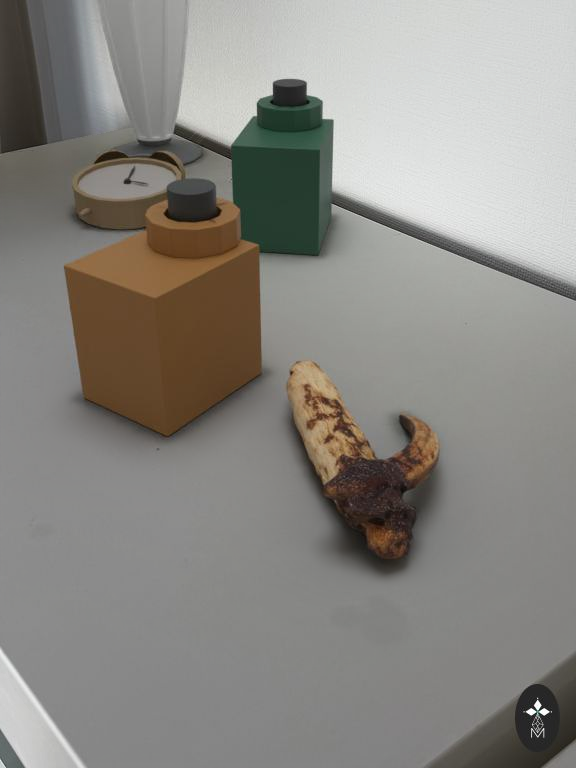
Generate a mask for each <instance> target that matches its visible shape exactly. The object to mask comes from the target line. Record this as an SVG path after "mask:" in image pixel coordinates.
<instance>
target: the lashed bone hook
mask: <svg viewBox="0 0 576 768" xmlns="http://www.w3.org/2000/svg"><path fill="white" fill-rule="evenodd" d="M288 373H289V377H288V379H287V381H286V384H285V388H286V389H285V390H286V394H287V400H288V402H289V405H290V407H291V410H292V412H293V420H294V425H295V426H296V428H297V430H298V432H299V434H300V436H301V438H302V441H303V444H304V447H305V450H306V452H307V455H308V456H307V457H308V459H309V461H310V462H311V463H312V464H313V465H314V468H315V472H316V474H317V475H318V477H319V478H320V480H321V483H322V485H323V492H322V493H323V496H324V497H326V498H328V499H331V500H333V501H334V503H335V505H336V509H337V511H338V513H340V514H341V516H342V517H343V518H344V519H345V521H346V522H347V523H348V524H349V526H350V527H351V528H352V529H353V530H354V531H356V532H361V533H362V534H363V535H365V537H366V542H367V544H366V548H368V549H369V550H370V551H372V552H374V553H375V554H376V555H377V556H378V557H379V558H381V559H383V560H395V559H398V558H402V557H405V556H408V554H409V552H410V550H411V544H410V542H411V541H412V540H413V538H414V534H413V528H414V526H415V523H416V521H417V516H418V515H417V509H418V507H417V506H416V505H415V506H410V504H408V503H406V502H405V501H404V494H405V493H406V492H408V491H411V490H413V489H415V488H416V487H418V486H419V485H420V484H421V483H423V482H424V481H426V480H427V479H428V477H429V476H430V475H431V474H432V473H433V471H434V470H435V468H436V466H437V464H438V462H439V459H440V458H439V457H440V451H441V448H440V447H441V445H440V440H439V437H438V435H437V433H436V431H435V430H434V429H433V428H432V427H431V426H430V425H429V424H427V423H425V422H424V421H423V420H421V419H420V418H417V417H415V416H413V415H411V414H407V413H401V414H399V415H398V417H399V418H398V419H399V422H400V423H401V425H402V427H404V428H405V430H406V431H407V433H409V435H410V436H411V442H410V444H406V446H405V447H404V448H403V449H401V450H400V451H399V452H396V453H395V454H394V455H392V456H390V457H387V458H386V459H385V458H384V459H382V458H378V457H377V456H376V454H375V451H374V449H373V448H372V447H371V445H370V442H369V440H368V439H367V437H366V436H365V434H364V433H363V431H362V429H361V428H360V426H359V425H358V423H357V422H356V420H355V418H354V417H353V415H352V414H351V412H350V411H349V409H348V408H347V406H346V405H345V403H344V400H343V398H342V396H341V393H340V392H339V391H338V389H337V387H336V386H335V384H334V383H333V382H332V381H331V380H330V378H329V376H328V374H327V373H326V372H325V371H323V370H322V369H321V366H320V365H318V364H317V363H316V362H314V361H312V360H298V361H295V363H294V364H292V365H291V366H290V368H289V372H288Z"/></svg>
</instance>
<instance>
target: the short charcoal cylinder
mask: <svg viewBox="0 0 576 768" xmlns="http://www.w3.org/2000/svg"><path fill="white" fill-rule="evenodd" d="M272 95H273V105H276V106H282V107H297V106H304V105H307V95H308V83H307V81H306V80H304V79H299V78H281V79H277V80H274V81H273V82H272Z"/></svg>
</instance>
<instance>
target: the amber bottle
mask: <svg viewBox="0 0 576 768" xmlns="http://www.w3.org/2000/svg"><path fill="white" fill-rule="evenodd" d="M216 200H217V217H216V218H214V219H211V220H208V221H202V222H195V223H193V222H177V221H174V220H170V219H169V213H168V200H165V201H162V202H160V203H158V204H155V205H153V206H151V207H150V208H149V210H148V211H147V212H146V214H145V221H146V227H145V230H141V231H140V232H138V233H136V234H133V235H131V236H129V237H127V238H124V239H121V240H120V241H116V242H114V243H112V244H110V245H108V246H105V247H103V248H101V249H98V250H96V251H94V252H92V253H89V254H87V255H84V256H82V257H80V258H78V259H75V260H73V261H71V262H68V263H66V264H64V265H63V270H64V276H65V284H66V290H67V296H68V302H69V310H70V317H71V324H72V330H73V331H72V332H73V337H74V343H75V349H76V357H77V363H78V370H79V377H80V384H81V390H82V397H83V399H86V400H88V401H90V402H93V403H94V404H96V405H98V406H101V407H102V408H105V409H107V410H109V411H112V412H114V413H116V414H118V415H121V416H123V417H124V418H126V419H129V420H131V421H133V422H136V424H140V425H141V426H143V427H146V428H148V429H151V431H155V432H157V433H158V434H160V435H163V436H165V437H169V436H171V435H172V434H174V433H175V432H177V431H178V430H181V428H183V427H184V426H185V425H187V424H189V423H190V422H191V421H193V420H194V419H196V418H197V417H198V416H200V415H202V414H203V413H205V412H206V411H208V410H209V409H211V408H212V407H214V406H215V405H217V404H218V403H219V402H221V401H222V400H224V399H225V398H227V397H229V396H230V395H231V394H233V393H234V392H236V391H237V390H239V389H240V388H241V387H243V386H244V385H246V384H248V383H249V382H250V381H252V380H253V379H255V378H257V377H258V376H260V375H261V374H262V373H263V359H262V357H263V356H262V316H261V315H262V314H261V313H262V311H261V268H260V267H261V263H260V251H259V245H258V244H255V243H252V242H248V241H245V240H241V239H240V238H241V218H240V209H239V208H238V207H237V206H236V205H235V204H234V203H233V201H231V200H228V199H224V198H219V197H216Z"/></svg>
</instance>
